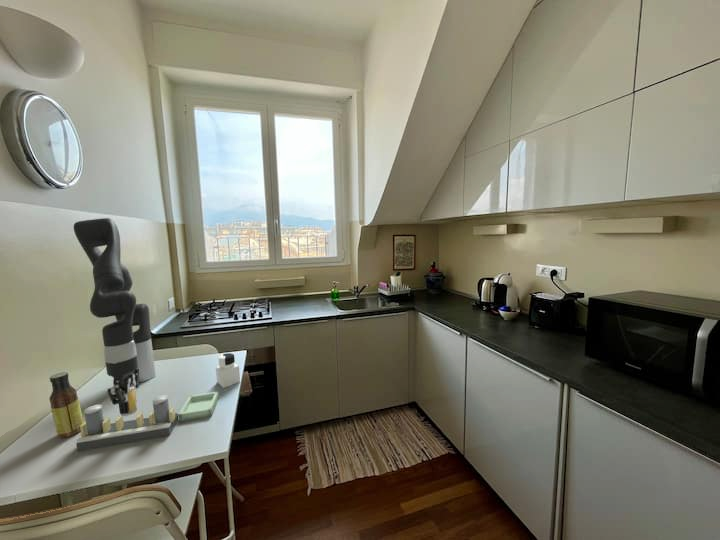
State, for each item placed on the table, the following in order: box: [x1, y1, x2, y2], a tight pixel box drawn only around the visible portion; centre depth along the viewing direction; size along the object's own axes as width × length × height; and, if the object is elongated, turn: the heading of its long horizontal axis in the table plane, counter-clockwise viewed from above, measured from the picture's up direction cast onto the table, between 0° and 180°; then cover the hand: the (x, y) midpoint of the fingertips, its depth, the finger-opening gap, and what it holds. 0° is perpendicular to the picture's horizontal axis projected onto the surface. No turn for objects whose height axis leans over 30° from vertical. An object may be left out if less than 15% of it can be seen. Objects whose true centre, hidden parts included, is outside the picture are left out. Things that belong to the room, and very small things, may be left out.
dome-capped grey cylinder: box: [83, 404, 105, 436], centre depth 90 cm, size 4×4×8 cm
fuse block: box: [75, 407, 179, 452], centre depth 93 cm, size 8×24×6 cm, turn 104°
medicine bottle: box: [215, 352, 241, 389], centre depth 124 cm, size 7×7×12 cm
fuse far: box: [152, 394, 170, 425], centre depth 95 cm, size 4×4×8 cm
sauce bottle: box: [49, 371, 84, 438], centre depth 94 cm, size 7×6×20 cm
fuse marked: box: [120, 385, 138, 417], centre depth 92 cm, size 4×4×8 cm
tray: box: [178, 391, 220, 422], centre depth 106 cm, size 12×10×2 cm
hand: (128, 408), depth 92 cm, fingers closed on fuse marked, 4 cm apart
